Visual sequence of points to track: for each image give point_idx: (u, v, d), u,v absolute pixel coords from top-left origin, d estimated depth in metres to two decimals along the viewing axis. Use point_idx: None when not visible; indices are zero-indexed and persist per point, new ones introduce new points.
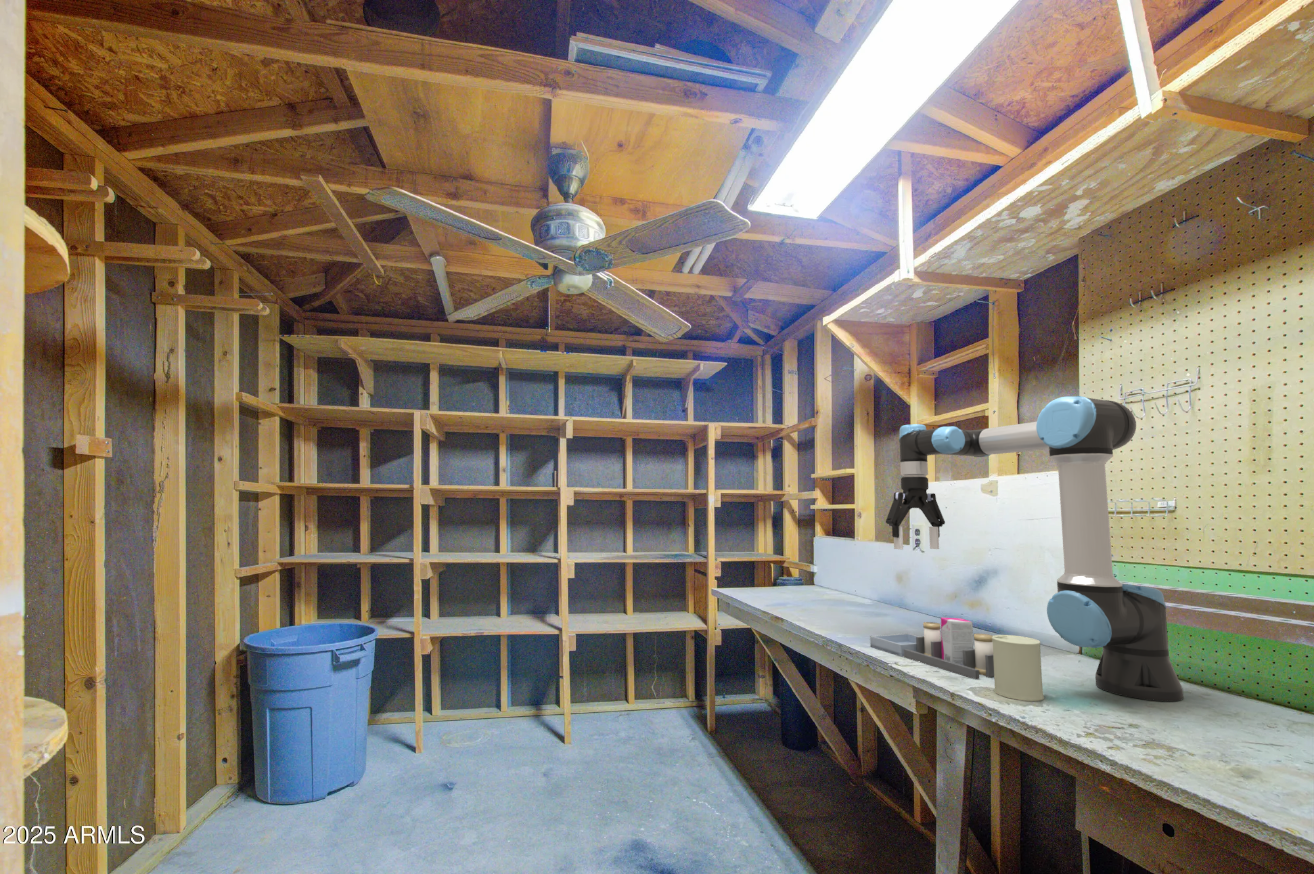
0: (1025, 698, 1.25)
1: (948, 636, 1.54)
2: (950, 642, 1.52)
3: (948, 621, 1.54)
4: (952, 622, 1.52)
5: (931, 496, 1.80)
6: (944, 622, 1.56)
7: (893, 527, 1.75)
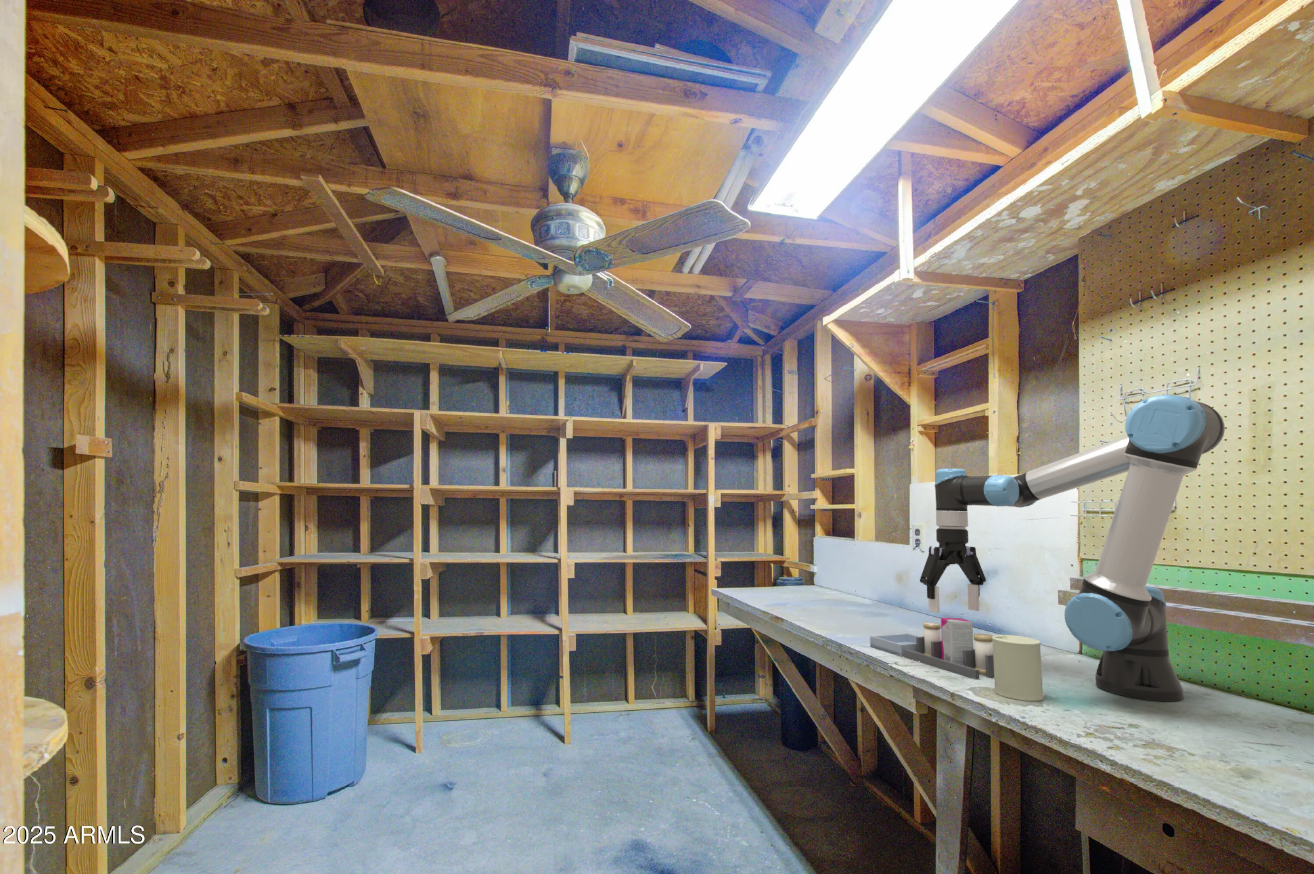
0: (1025, 698, 1.25)
1: (948, 636, 1.54)
2: (950, 642, 1.52)
3: (948, 621, 1.54)
4: (952, 622, 1.52)
5: (971, 550, 1.59)
6: (944, 622, 1.56)
7: (928, 587, 1.53)
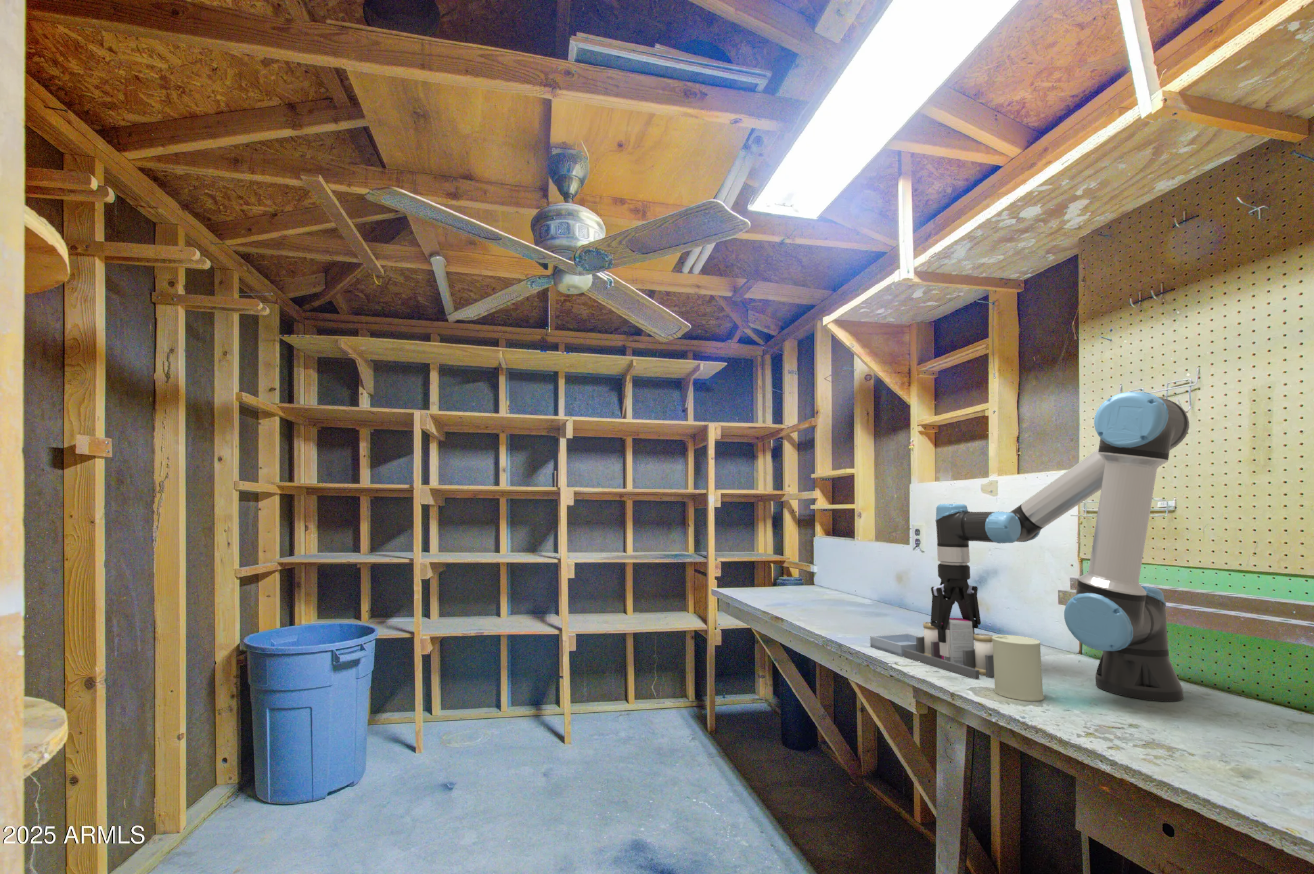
0: (1025, 698, 1.25)
1: None
2: (950, 642, 1.52)
3: None
4: (952, 621, 1.52)
5: (972, 588, 1.57)
6: None
7: (939, 630, 1.53)
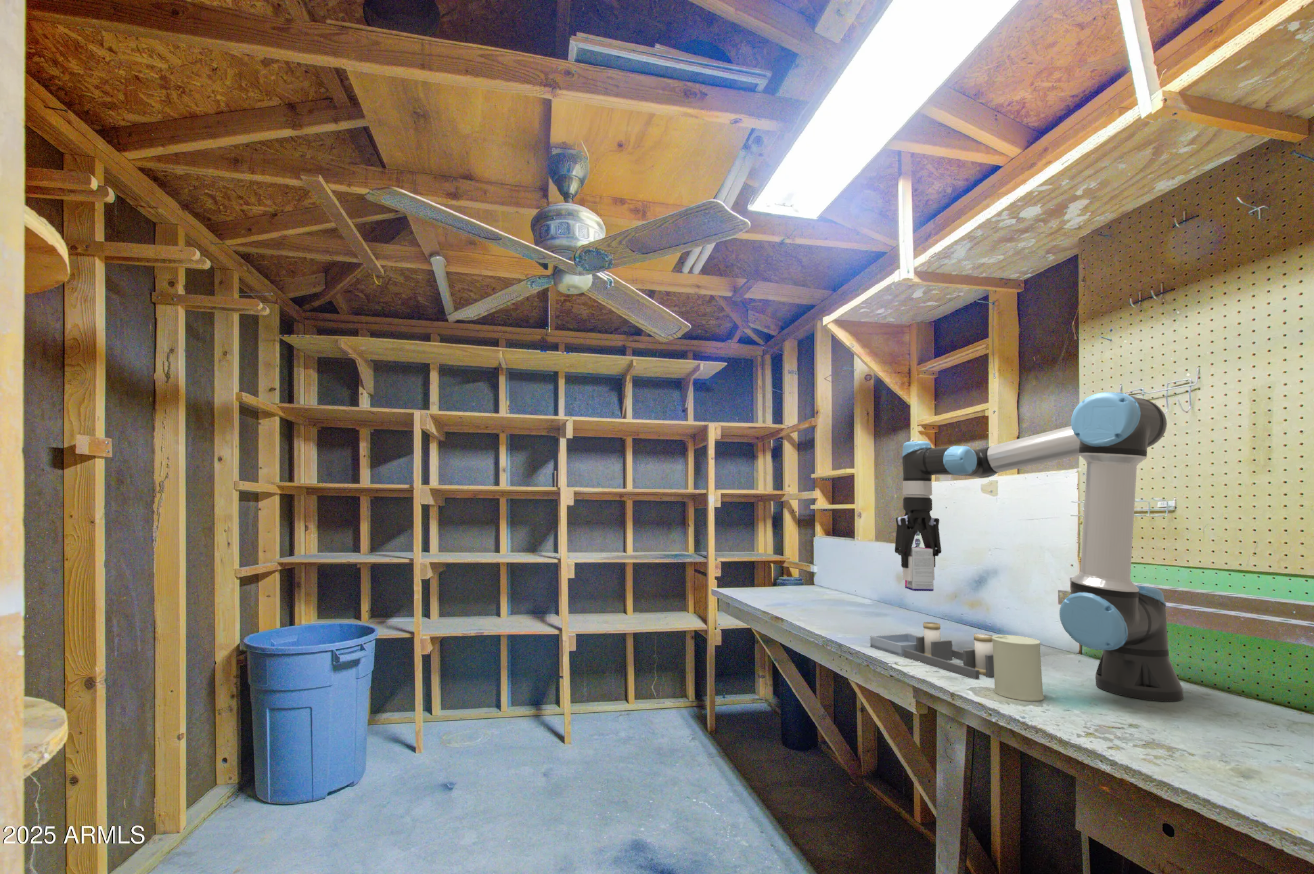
0: (1025, 698, 1.25)
1: None
2: (912, 568, 1.65)
3: None
4: (914, 549, 1.65)
5: (934, 520, 1.70)
6: None
7: (902, 557, 1.66)
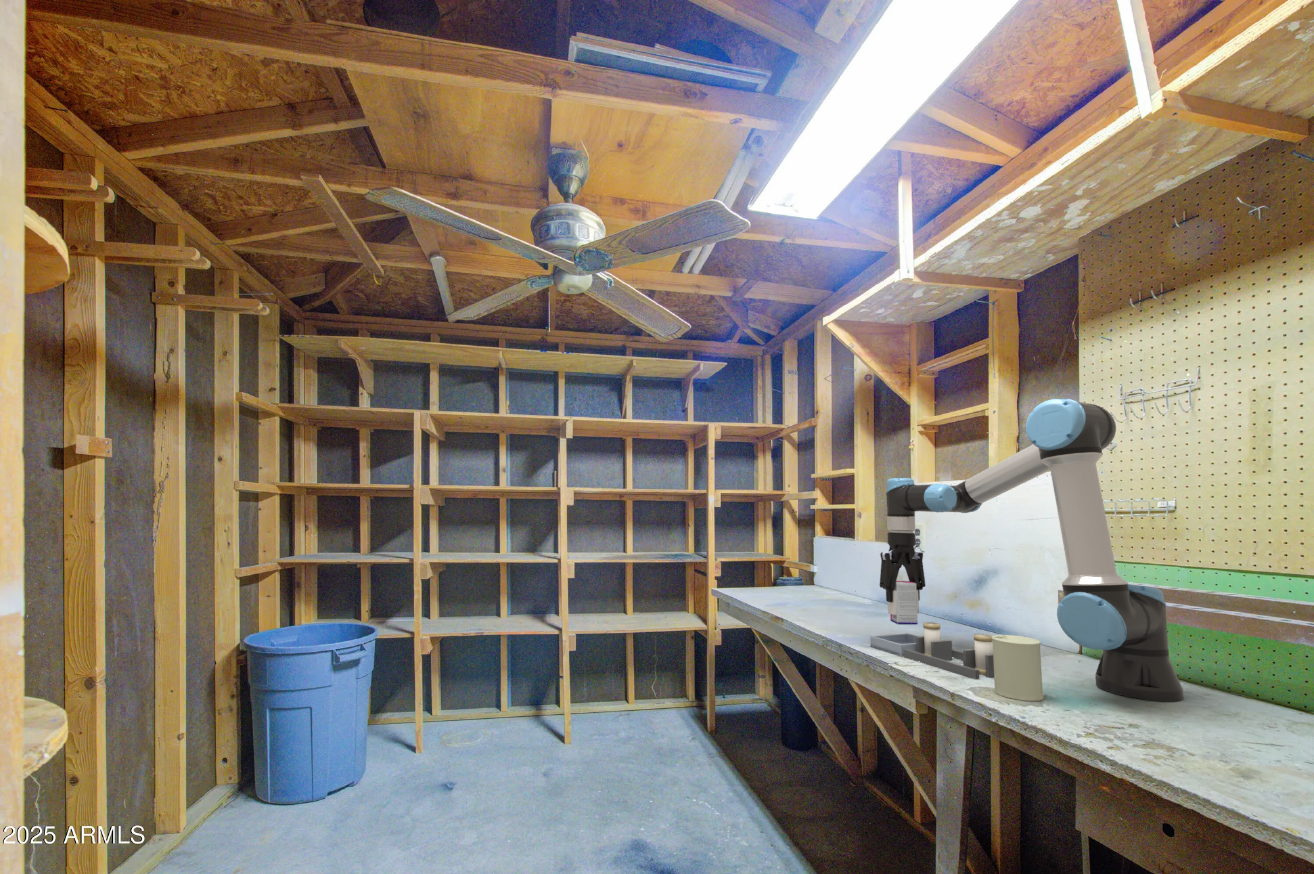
0: (1025, 698, 1.25)
1: None
2: (897, 602, 1.70)
3: None
4: (898, 583, 1.70)
5: (918, 554, 1.75)
6: None
7: (887, 591, 1.71)
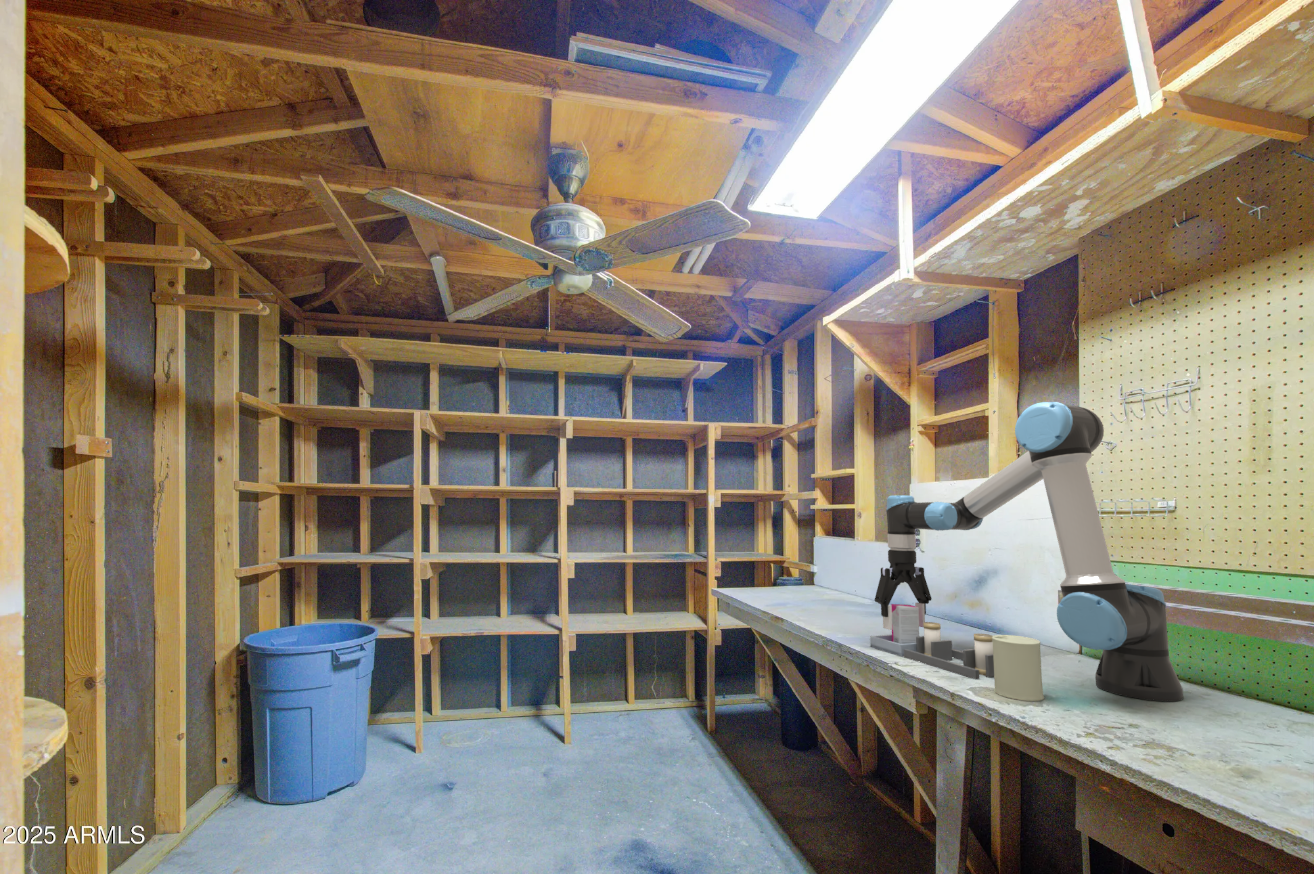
0: (1025, 698, 1.25)
1: (896, 620, 1.70)
2: (899, 626, 1.69)
3: (897, 607, 1.70)
4: (901, 607, 1.69)
5: (919, 570, 1.74)
6: (894, 608, 1.72)
7: (882, 606, 1.69)
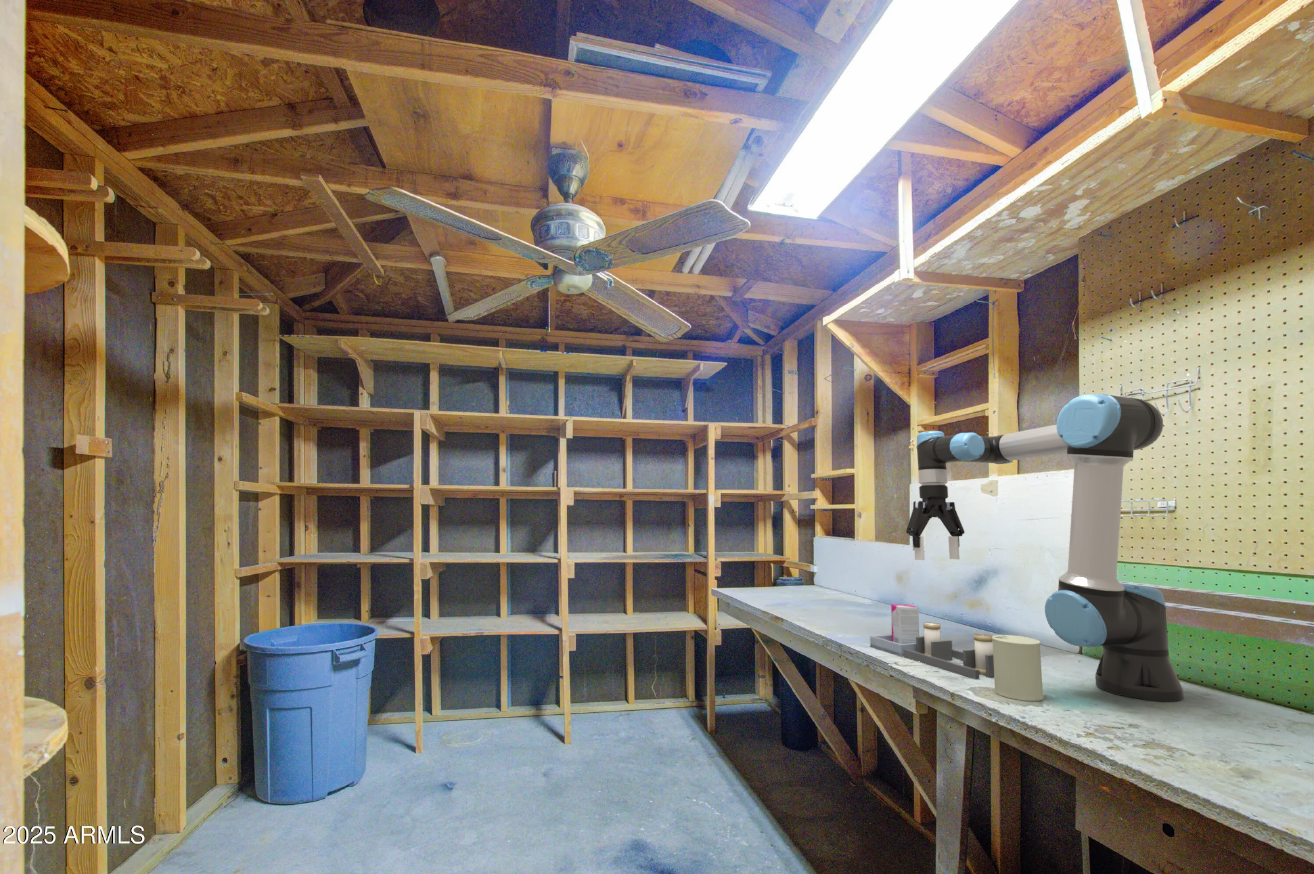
0: (1025, 698, 1.25)
1: (896, 620, 1.70)
2: (899, 626, 1.69)
3: (897, 607, 1.70)
4: (901, 607, 1.69)
5: (950, 505, 1.76)
6: (894, 608, 1.72)
7: (914, 537, 1.70)
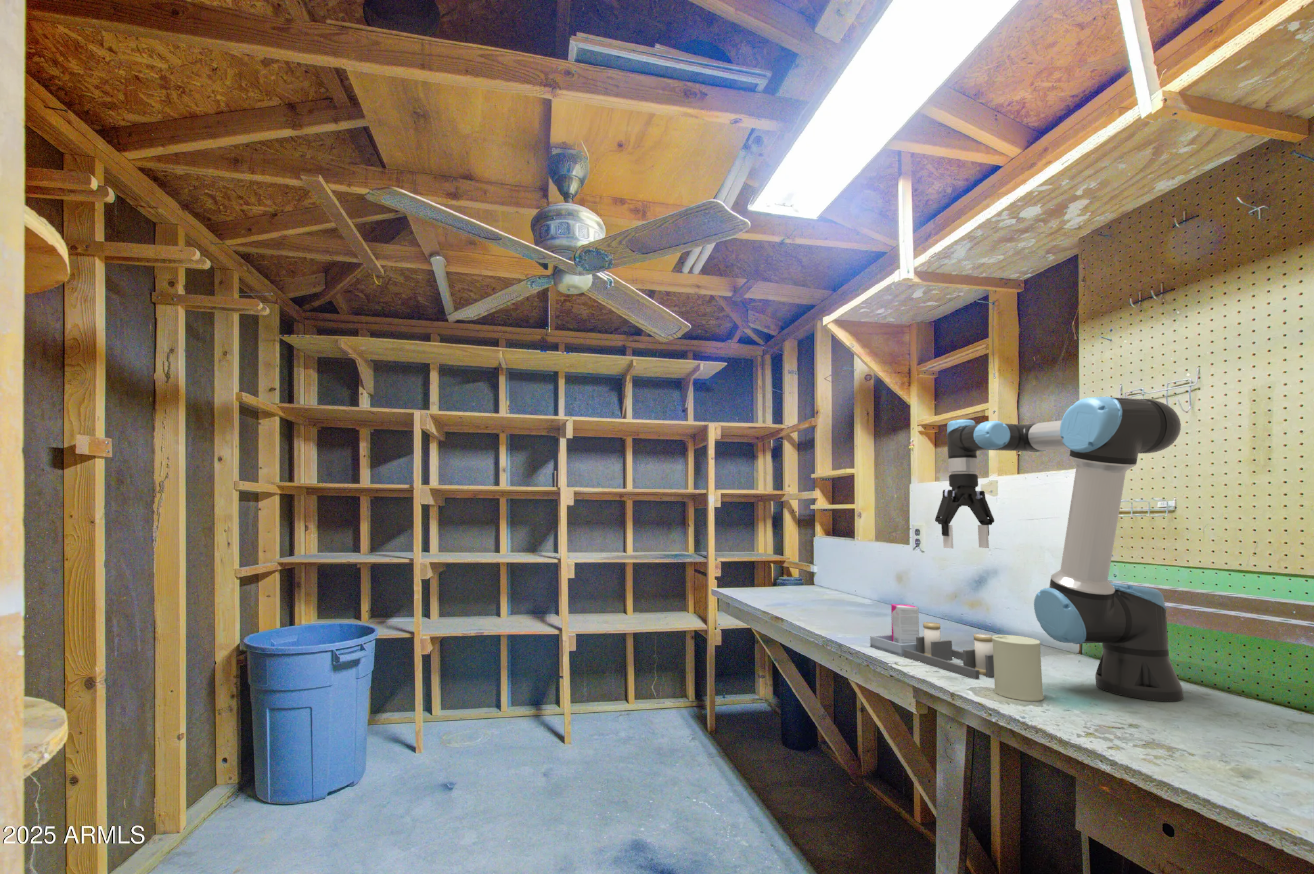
0: (1025, 698, 1.25)
1: (896, 620, 1.70)
2: (899, 626, 1.69)
3: (897, 607, 1.70)
4: (901, 607, 1.69)
5: (980, 493, 1.76)
6: (894, 608, 1.72)
7: (943, 525, 1.70)
